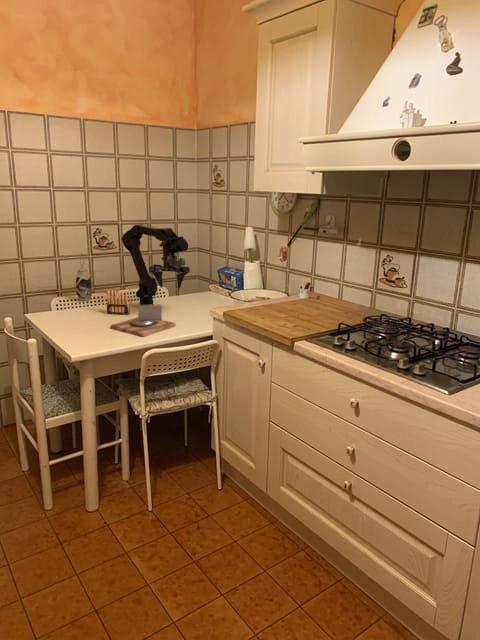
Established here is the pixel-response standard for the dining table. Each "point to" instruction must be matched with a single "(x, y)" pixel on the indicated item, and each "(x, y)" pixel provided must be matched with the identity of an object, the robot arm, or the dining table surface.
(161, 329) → the dial plate
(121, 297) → the ammunition clip
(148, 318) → the dial knob
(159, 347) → the dining table surface
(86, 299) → the clear tall bottle
